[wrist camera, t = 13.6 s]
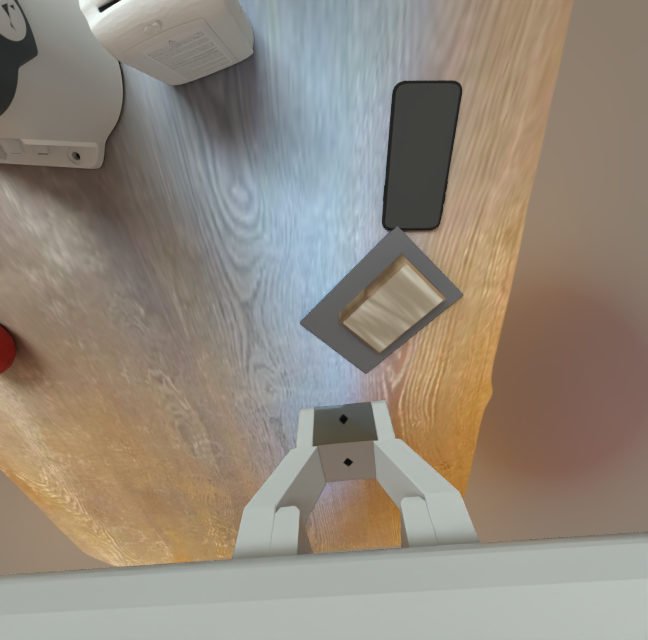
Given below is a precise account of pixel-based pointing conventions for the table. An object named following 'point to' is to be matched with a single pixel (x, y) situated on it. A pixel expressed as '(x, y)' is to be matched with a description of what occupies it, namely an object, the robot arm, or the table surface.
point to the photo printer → (172, 35)
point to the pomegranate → (6, 350)
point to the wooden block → (390, 305)
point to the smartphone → (419, 153)
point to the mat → (378, 259)
